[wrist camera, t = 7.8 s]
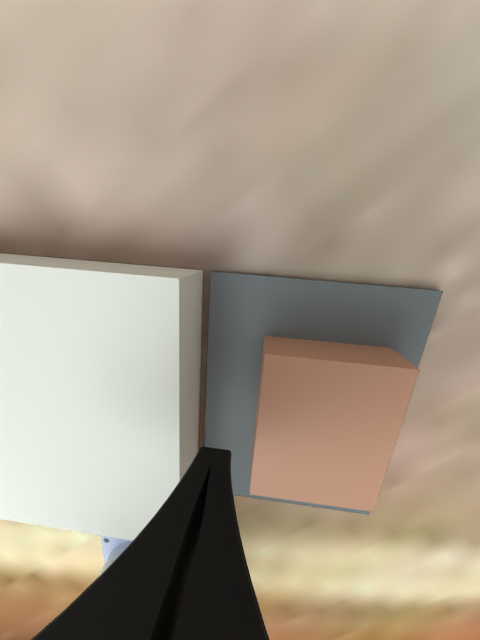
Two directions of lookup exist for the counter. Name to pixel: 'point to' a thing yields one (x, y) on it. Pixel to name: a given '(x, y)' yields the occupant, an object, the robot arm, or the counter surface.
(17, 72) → the counter surface
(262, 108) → the counter surface
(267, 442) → the tile
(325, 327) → the mat
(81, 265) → the white platform
